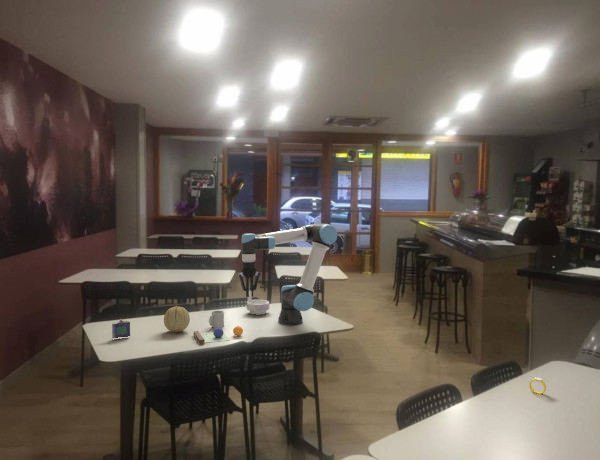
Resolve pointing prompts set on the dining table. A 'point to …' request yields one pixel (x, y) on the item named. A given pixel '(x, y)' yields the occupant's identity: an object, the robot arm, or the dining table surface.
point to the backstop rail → (199, 337)
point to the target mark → (214, 338)
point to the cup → (217, 319)
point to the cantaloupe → (176, 319)
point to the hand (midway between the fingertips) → (249, 302)
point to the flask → (121, 329)
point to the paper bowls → (258, 307)
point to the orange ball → (238, 331)
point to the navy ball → (218, 332)
